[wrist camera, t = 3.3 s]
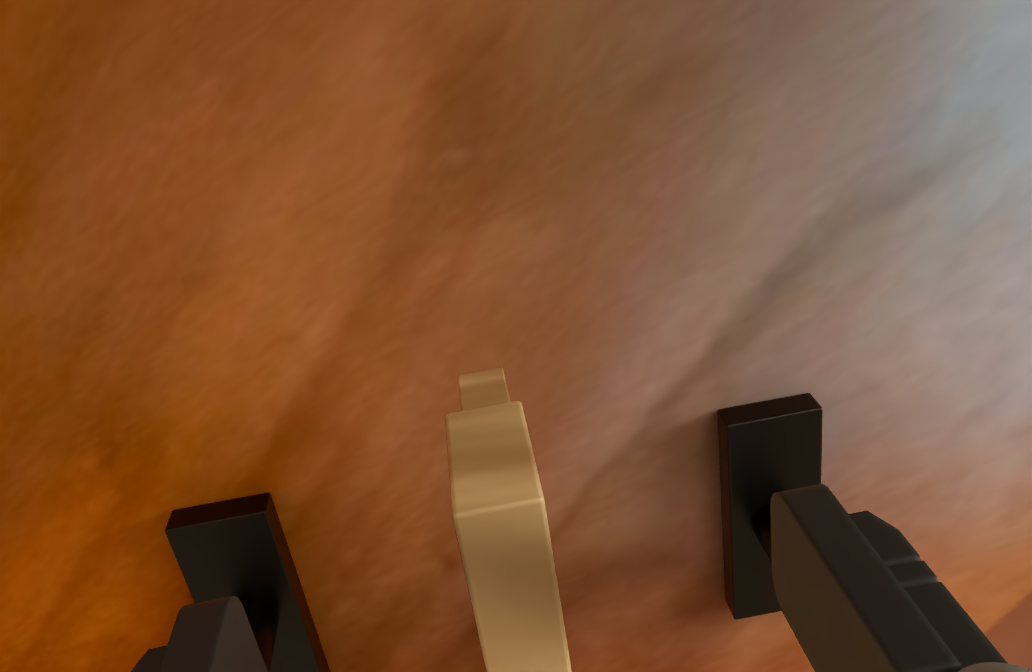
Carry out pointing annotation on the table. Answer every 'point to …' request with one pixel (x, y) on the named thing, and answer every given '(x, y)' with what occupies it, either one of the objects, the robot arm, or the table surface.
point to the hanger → (504, 530)
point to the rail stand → (282, 605)
